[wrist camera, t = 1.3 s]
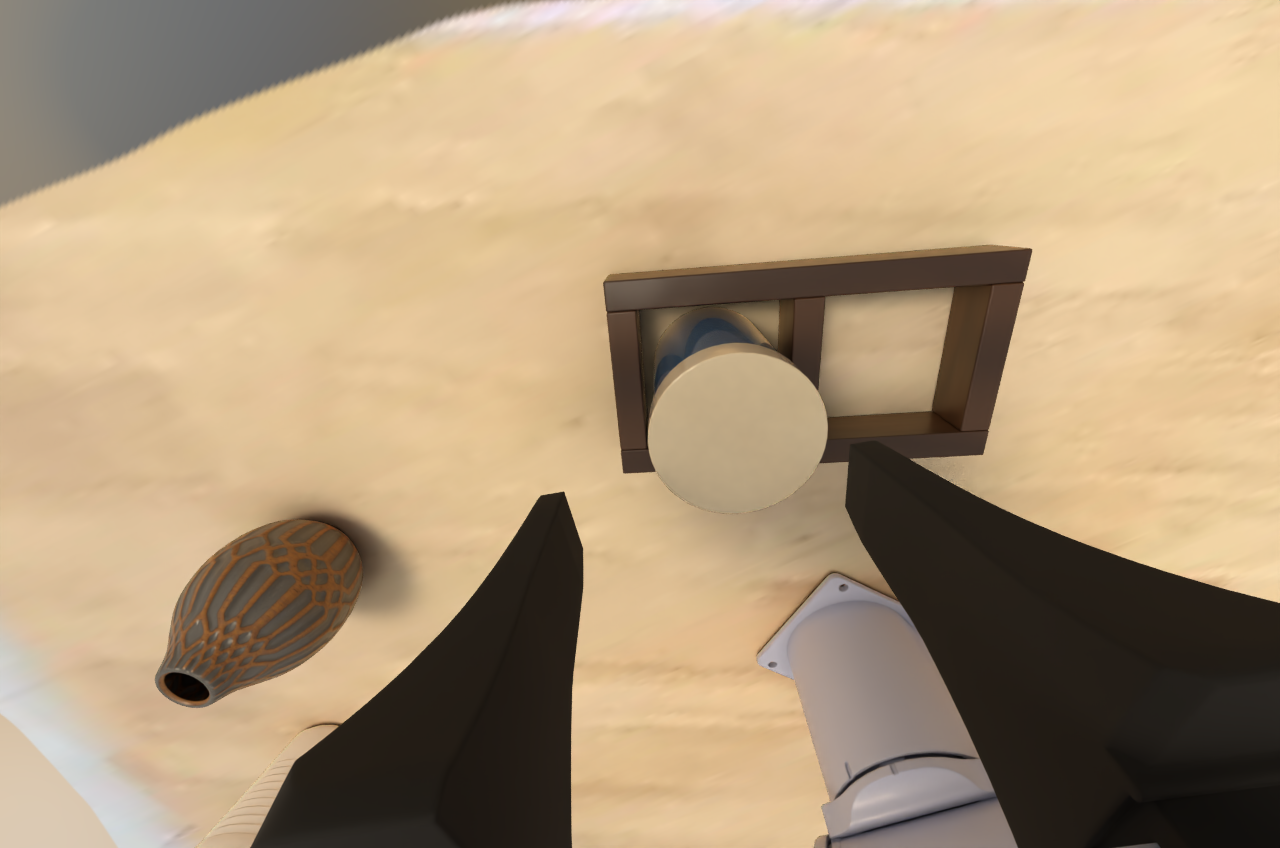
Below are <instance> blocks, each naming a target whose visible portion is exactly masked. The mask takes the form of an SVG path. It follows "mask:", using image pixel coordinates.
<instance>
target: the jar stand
mask: <svg viewBox="0 0 1280 848" xmlns="http://www.w3.org/2000/svg"><path fill="white" fill-rule="evenodd" d="M1031 254H1032V249H1030V248H1020V247H1009V246H998V245H982V246H970V247H957V248H944V249H931V250H918V251H905V252H893V253H880V254H867V255H854V256H841V257H828V258H816V259H803V260H790V261H777V262H764V263H752V264H739V265H726V266H713V267H700V268H687V269H675V270H662V271H649V272H636V273H623V274H610V275H609V276H608V277H607V278H606V280H605V281H604V283H603V286H604V295H605V305H606V311H607V323H608V333H609V342H610V352H611V361H612V370H613V380H614V389H615V399H616V408H617V418H618V427H619V437H620V446H621V456H622V466H623V473H641V472H656V471H655V468H654V466H653V464H652V461H651V458H650V454H649V448H648V421H647V408H646V395H645V382H644V369H643V356H642V344H641V331H640V318H639V310H645V309H659V308H673V307H686V306H700V305H714V304H727V303H741V302H755V301H769V300H780V311H779V335H778V353H780V354H782V355H783V356H785V357H786V358H788V359H789V360H790V361H792V362H793V363H794V364H795V365H796V366H797V367H798V368H799V369H800V370H801V371H802V372H803V373H804V374H805V375H806V377H807V378H808V379H809V380H810V381H811V382H812V384H813V385H814V386H815V388H816V389H817V391H818V385H819V372H820V360H821V347H822V334H823V322H824V309H825V297H824V296H837V295H851V294H864V293H878V292H892V291H905V290H919V289H933V288H946V287H955V290H954V296H953V301H952V307H951V312H950V317H949V323H948V328H947V333H946V339H945V344H944V350H943V355H942V360H941V366H940V371H939V377H938V382H937V387H936V393H935V398H934V403H933V409H932V410H933V412H916V413H898V414H881V415H864V416H846V417H829V418H827V421H828V435H827V441H826V446H825V450H824V453H823V455H822V458H821V460H820V462H819V463H834V462H849V452H850V444H855V443H861V442H867V441H873V440H876V441H878V442H880V443H882V444H884V445H885V446H887V447H889V448H891V449H893V450H894V451H896V452H898V453H900V454H901V455H903V456H905V457H906V458H908V459H911V458H930V457H949V456H968V455H983V453H984V449H985V444H986V440H987V436H988V432H989V431H988V429H989V427H990V423H991V418H992V414H993V410H994V406H995V402H996V398H997V394H998V390H999V385H1000V381H1001V377H1002V373H1003V369H1004V365H1005V361H1006V357H1007V352H1008V348H1009V344H1010V340H1011V336H1012V332H1013V328H1014V324H1015V319H1016V315H1017V311H1018V307H1019V303H1020V299H1021V295H1022V291H1023V286H1024V283H1023V281H1025V279H1026V275H1027V270H1028V266H1029V262H1030V258H1031Z"/></svg>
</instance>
